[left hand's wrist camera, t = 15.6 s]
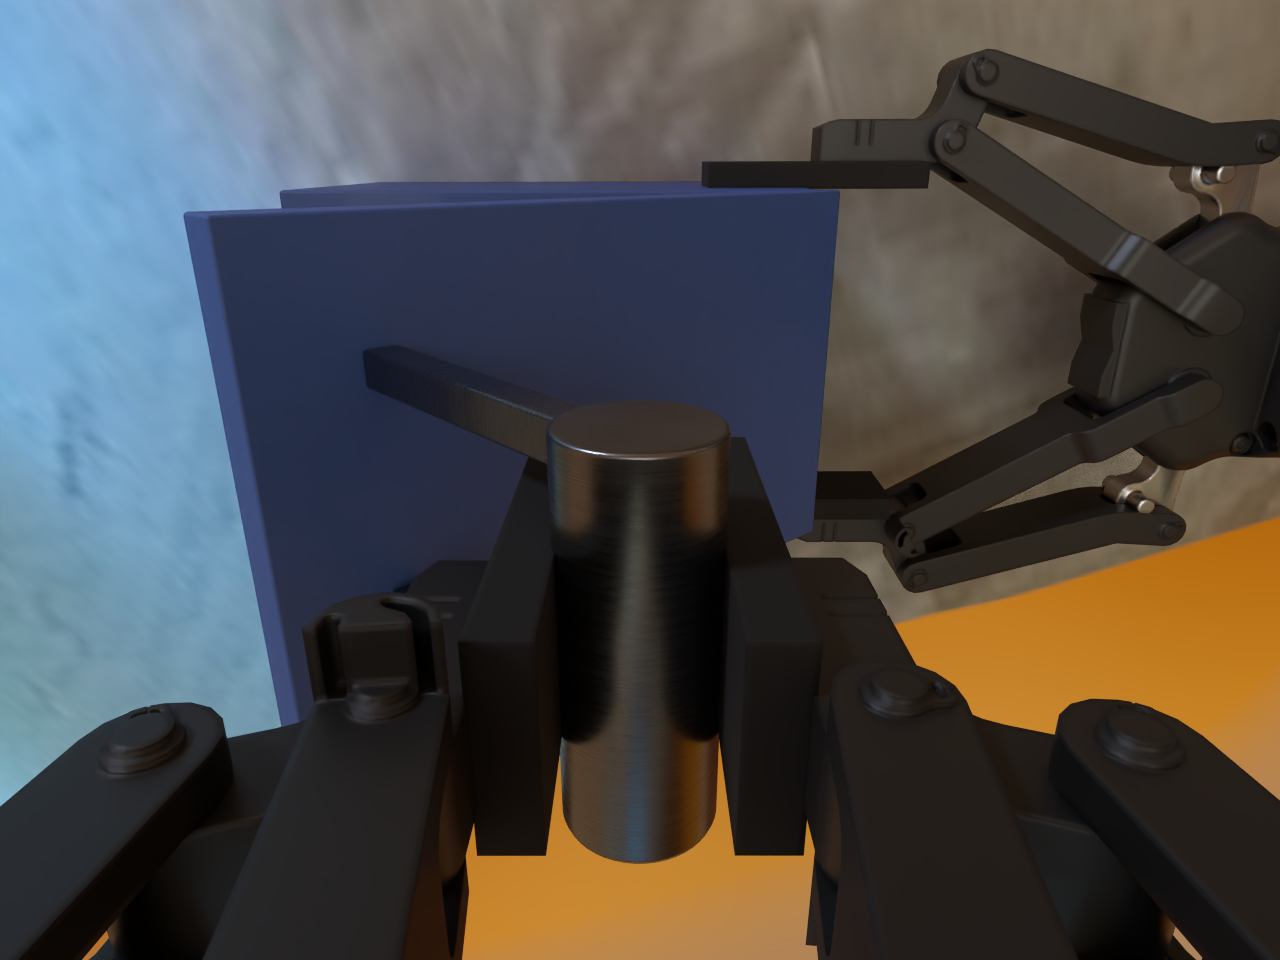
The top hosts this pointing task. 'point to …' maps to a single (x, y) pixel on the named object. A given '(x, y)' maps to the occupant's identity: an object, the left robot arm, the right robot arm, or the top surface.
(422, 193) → the chest
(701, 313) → the lid
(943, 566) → the right robot arm
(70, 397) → the top surface
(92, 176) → the top surface
